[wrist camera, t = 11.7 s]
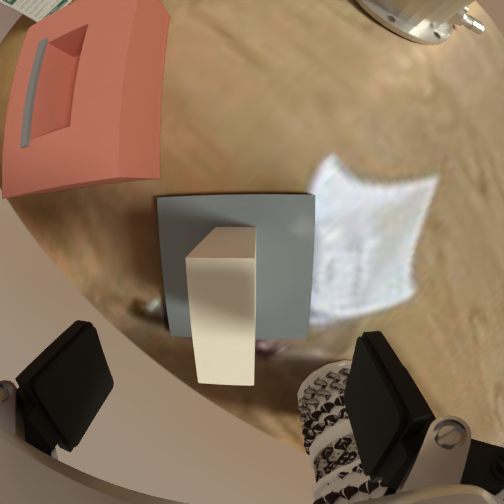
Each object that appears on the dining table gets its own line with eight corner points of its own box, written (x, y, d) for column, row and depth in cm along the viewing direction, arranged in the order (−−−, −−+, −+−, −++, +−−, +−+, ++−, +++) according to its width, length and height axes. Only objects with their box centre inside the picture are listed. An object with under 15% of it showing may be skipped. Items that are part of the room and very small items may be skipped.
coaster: (313, 194, 20) (315, 195, 20) (306, 333, 23) (307, 338, 23) (160, 197, 21) (157, 197, 20) (173, 331, 24) (170, 336, 23)
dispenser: (170, 16, 17) (143, -28, 9) (160, 178, 20) (115, 177, 13) (66, 49, 17) (25, 27, 10) (51, 192, 21) (-3, 199, 13)
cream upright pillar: (256, 226, 20) (254, 258, 12) (255, 312, 22) (254, 385, 13) (216, 226, 20) (185, 257, 12) (219, 312, 22) (198, 382, 13)
